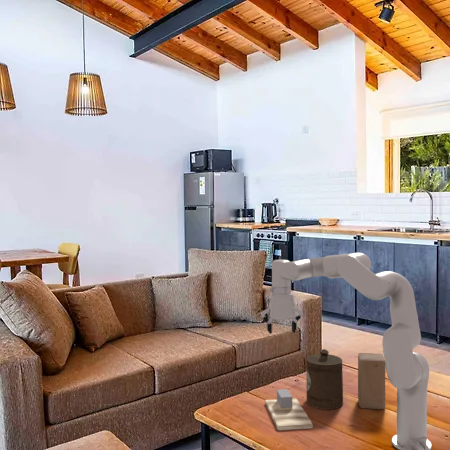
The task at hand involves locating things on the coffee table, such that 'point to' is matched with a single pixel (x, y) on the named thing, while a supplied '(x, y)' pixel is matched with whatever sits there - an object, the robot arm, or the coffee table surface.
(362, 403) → the wooden block
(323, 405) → the wooden container
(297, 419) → the board
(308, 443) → the coffee table surface
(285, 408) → the block
